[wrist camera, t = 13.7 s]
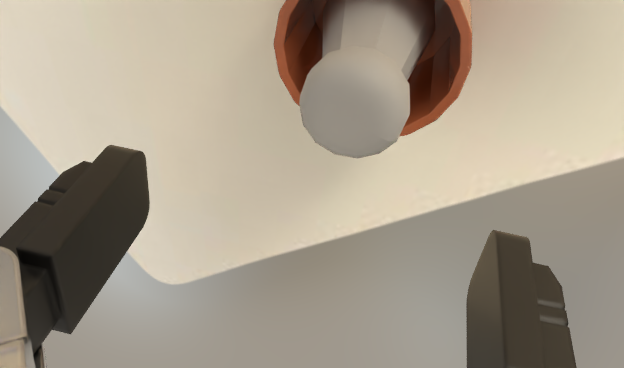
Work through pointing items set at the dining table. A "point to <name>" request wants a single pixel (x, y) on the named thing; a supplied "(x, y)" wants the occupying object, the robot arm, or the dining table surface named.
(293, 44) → the cup
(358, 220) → the dining table surface
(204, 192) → the dining table surface
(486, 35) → the dining table surface
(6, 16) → the dining table surface
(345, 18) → the salt shaker
